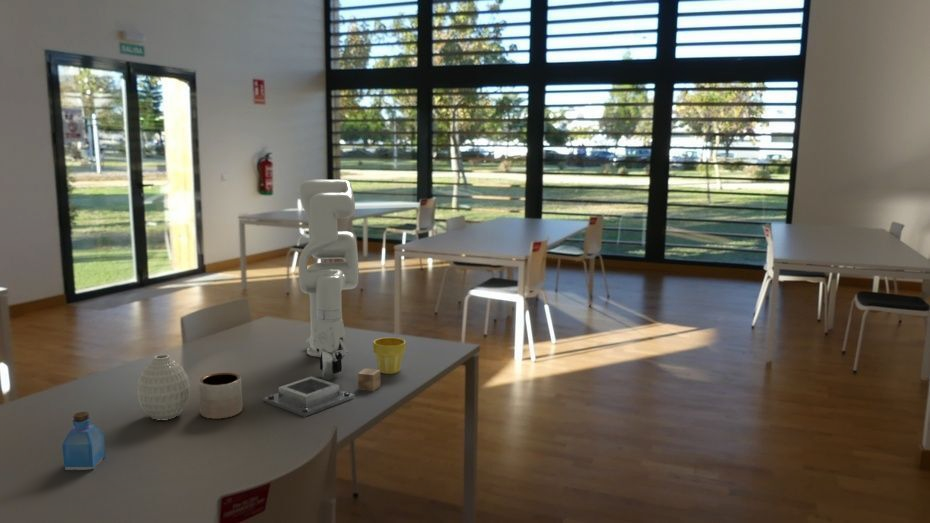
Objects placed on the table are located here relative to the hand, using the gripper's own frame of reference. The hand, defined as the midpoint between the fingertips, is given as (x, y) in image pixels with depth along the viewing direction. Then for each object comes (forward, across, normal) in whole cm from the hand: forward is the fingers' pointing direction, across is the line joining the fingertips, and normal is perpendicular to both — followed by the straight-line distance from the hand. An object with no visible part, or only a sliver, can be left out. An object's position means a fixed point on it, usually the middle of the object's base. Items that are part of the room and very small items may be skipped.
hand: (330, 369), depth 217 cm
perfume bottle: (+3, +2, -75) cm, 75 cm away
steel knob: (+2, 0, 0) cm, 2 cm away
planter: (+3, -1, -38) cm, 38 cm away
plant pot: (+3, +10, +16) cm, 19 cm away
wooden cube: (+2, +16, +1) cm, 16 cm away
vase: (+2, -10, -49) cm, 50 cm away
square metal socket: (+2, +10, -17) cm, 20 cm away
